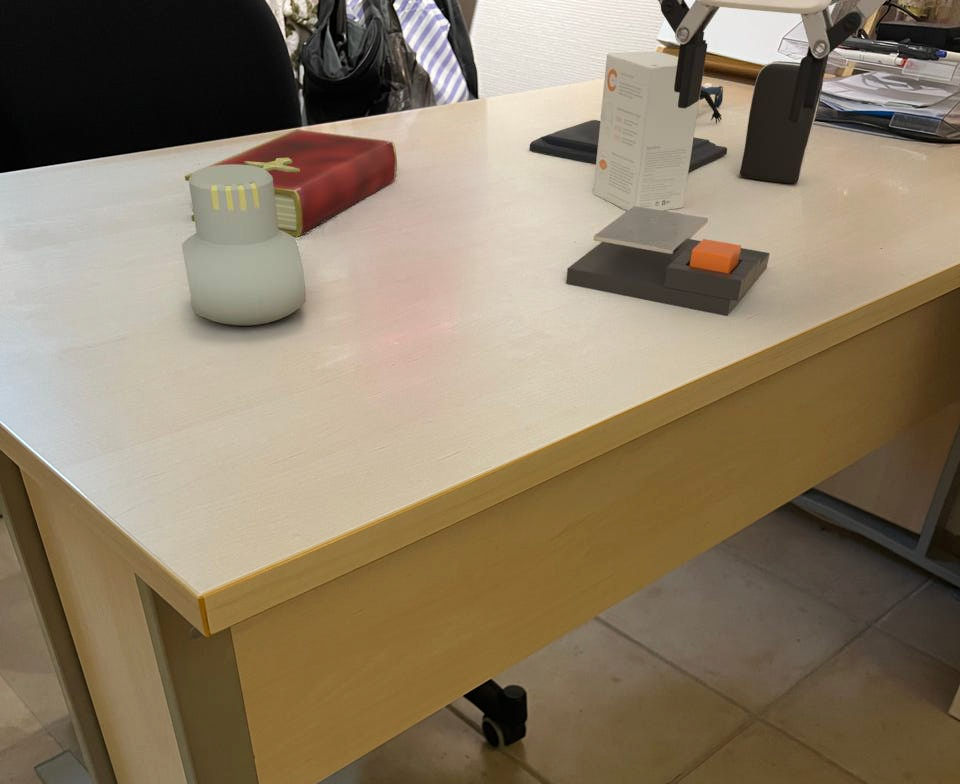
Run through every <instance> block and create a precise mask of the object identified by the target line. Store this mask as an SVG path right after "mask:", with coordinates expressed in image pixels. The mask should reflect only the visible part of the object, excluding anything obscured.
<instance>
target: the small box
mask: <svg viewBox="0 0 960 784" xmlns="http://www.w3.org/2000/svg"><path fill="white" fill-rule="evenodd" d="M677 63H678V56H676V55H672V54H669V53H666V52H665V53H664V52H662V51H658V50H656V51H655V50H653V51H631V52H628V51H627V52H612V53H611V52H609V53H607V54H606V61H605V71H604V79H603V80H604V81H603V90H602V101H601V111H600V119H599V121H600V130H599V140H598V150H597V160H596V164H595V170H594V171H595V172H594V180H593V181H594V182H593V189H592V193H593V195H595V196H597V197H599V198H601V199H603V200H604V201H607V202H609V203H610V204H613V205H614V206H617V207H619V208H621V209H623V210H624V211H626V212H627V211H628V210H629V209H631V208H632V207H633V206H637V207H643V208H649V209H655V210H661V211H670V210H677V209H682V208H684V204H685V197H686V191H687V183H688V177H689V172H690V171H689V165H690V158H691V152H692V145H693V138H694V137H695V132H696V124H697V118H698V111H699V105H700V100H698V101H697V102H696V103H694V104H692V105H691V106H689V107H687V108H686V109H684V108H678V100H679V92H675V91H674V85H675V77H676V70H677ZM705 65H706V64H704V67H705ZM704 72H705V70H704V71H703V73H704ZM703 78H704V76H703V77H702V80H703ZM702 84H703V83H702ZM702 84H701V86H703V85H702ZM700 92H701V90H700ZM699 98H700V96H699ZM688 171H689V172H688Z"/></svg>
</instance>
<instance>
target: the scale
mask: <svg viewBox="0 0 960 784" xmlns="http://www.w3.org/2000/svg"><path fill="white" fill-rule="evenodd" d="M701 241H702V240H697V239H692V238H690V239H689V240H688V241H687V242H686V243H685V244H684V245H683V246H682V247H680V248H679V249H678V250H677V251H676V252H675V253H674V254H673V255H672V254H666V253H661V252H655V251H650V250H644V249H639V248H633V247H628V246H622V245H617V244H611V243H606V242H600V243H599V244H597V245H596V246H594V247H593V248H591V250H589V251H588V252H586V254H584V255H583V256H582V257H580V258H579V259H577V260H576V261H575V262H574V263H573V264H571V265H570V266H569V267H567V269H566V270H567V271H566V280H565V281H566V282H565V284H566V285H568V286H574V287H578V288H579V287H580V288H584V289H589V290H595V291H599V292H605V293H609V294H614V295H618V296H624V297H629V298H634V299H640V300H644V301H650V302H654V303H659V304H663V305H664V304H665V305H668V306H673V307H679V308H684V309H690V310H695V311H700V312H704V313H709V314H715V315H719V316H724V317H728V316H729V315H730V314H731V313H732V311H733V310H734V309H735V308H736V307H737V306H738V304H739V303H740V302H741V300H742V299H743V298H744V297H745V296H746V294H748V292H749V291H750V289H751V288H752V287H753V286H754V285H755V283H757V281H758V280H759V278H760V277H761V276H762V275H763V273H764V272H765V271H766V270H767V268H768V264H769V259H770V252H768V251H767V252H766V251H760V250H756V249H749V248H743V247H741V251H740V256H739V261H738V265H737V266H736V267H735V268H734V269H733V270H732V271H731V272H730V274H729V273H724V272H718V271H713V270H708V269H702V268H697V267H691V266H690V260H691V254H692V250H693V249H694V248H695V247H696V246H697V245H698V244H699V243H700V242H701Z"/></svg>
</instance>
